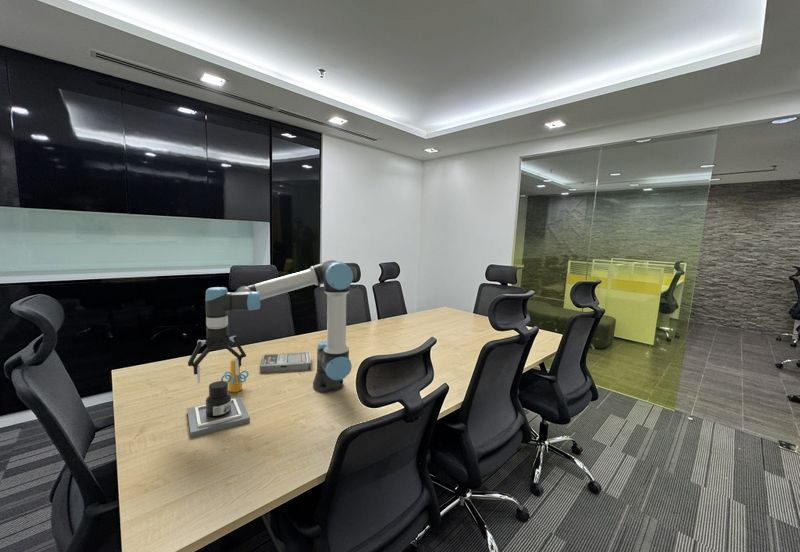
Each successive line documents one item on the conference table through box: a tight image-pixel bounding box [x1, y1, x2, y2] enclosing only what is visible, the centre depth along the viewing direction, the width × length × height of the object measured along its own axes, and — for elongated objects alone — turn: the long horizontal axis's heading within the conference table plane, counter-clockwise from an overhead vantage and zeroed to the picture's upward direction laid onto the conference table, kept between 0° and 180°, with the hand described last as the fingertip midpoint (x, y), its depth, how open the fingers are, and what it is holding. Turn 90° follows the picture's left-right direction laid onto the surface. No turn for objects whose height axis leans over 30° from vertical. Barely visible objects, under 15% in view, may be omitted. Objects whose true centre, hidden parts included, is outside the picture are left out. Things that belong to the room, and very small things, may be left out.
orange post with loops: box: [220, 357, 249, 393], centre depth 156 cm, size 12×10×15 cm
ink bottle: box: [205, 380, 232, 418], centre depth 131 cm, size 10×9×12 cm
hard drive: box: [259, 351, 312, 374], centre depth 189 cm, size 18×27×4 cm
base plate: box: [186, 396, 251, 438], centre depth 132 cm, size 20×20×3 cm
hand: (218, 377), depth 130 cm, fingers open, 13 cm apart
